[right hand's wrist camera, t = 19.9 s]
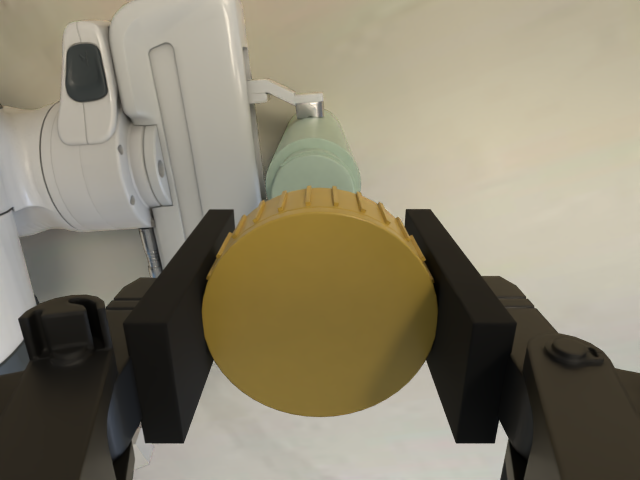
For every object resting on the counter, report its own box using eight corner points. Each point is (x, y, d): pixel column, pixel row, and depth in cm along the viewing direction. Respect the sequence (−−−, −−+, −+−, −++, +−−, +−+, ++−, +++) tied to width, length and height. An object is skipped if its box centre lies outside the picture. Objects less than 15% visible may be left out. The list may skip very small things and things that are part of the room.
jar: (353, 141, 36) (385, 204, 20) (309, 176, 37) (305, 262, 21) (318, 94, 35) (321, 121, 19) (273, 132, 36) (239, 188, 20)
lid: (173, 267, 12) (146, 305, 10) (340, 138, 11) (345, 154, 9) (303, 399, 13) (300, 453, 12) (461, 301, 12) (487, 343, 10)
